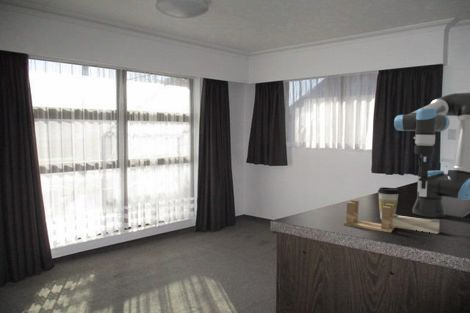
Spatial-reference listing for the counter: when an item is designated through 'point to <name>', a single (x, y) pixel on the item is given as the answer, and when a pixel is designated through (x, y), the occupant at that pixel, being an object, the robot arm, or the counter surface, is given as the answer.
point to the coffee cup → (388, 198)
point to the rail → (416, 224)
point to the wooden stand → (384, 226)
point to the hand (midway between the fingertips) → (421, 194)
